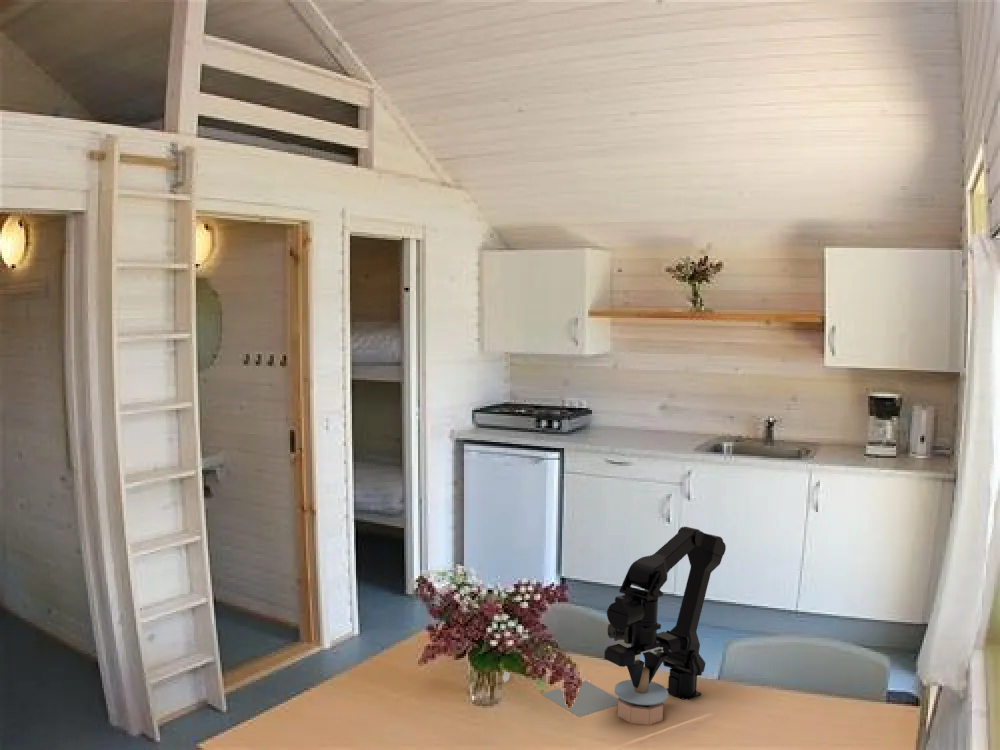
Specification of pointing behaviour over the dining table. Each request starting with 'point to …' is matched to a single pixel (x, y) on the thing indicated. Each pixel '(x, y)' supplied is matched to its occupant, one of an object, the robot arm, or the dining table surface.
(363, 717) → the dining table surface
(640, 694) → the lid
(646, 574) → the robot arm
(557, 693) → the mat
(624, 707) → the bowl
